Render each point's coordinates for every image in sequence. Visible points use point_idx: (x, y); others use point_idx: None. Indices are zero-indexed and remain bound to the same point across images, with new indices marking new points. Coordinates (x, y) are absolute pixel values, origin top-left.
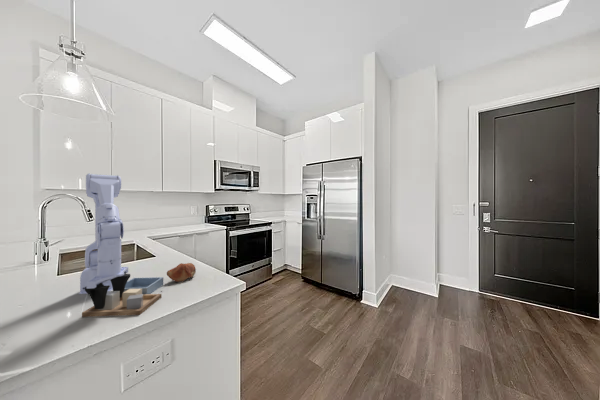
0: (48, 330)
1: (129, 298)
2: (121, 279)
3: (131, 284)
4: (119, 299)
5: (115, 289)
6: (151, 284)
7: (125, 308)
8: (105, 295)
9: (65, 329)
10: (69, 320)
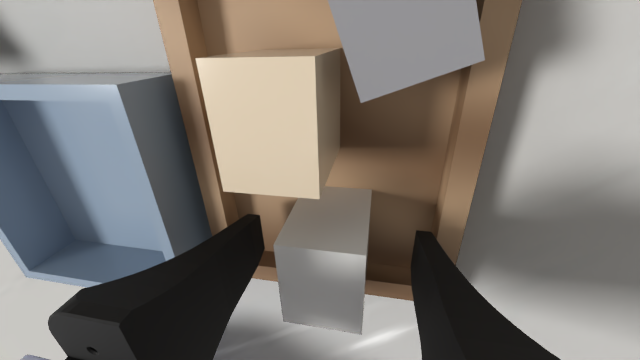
0: (537, 337)
1: (455, 45)
2: (170, 329)
3: (82, 254)
4: (296, 203)
5: (235, 286)
6: (43, 93)
7: (366, 111)
8: (447, 293)
9: (559, 286)
10: None
